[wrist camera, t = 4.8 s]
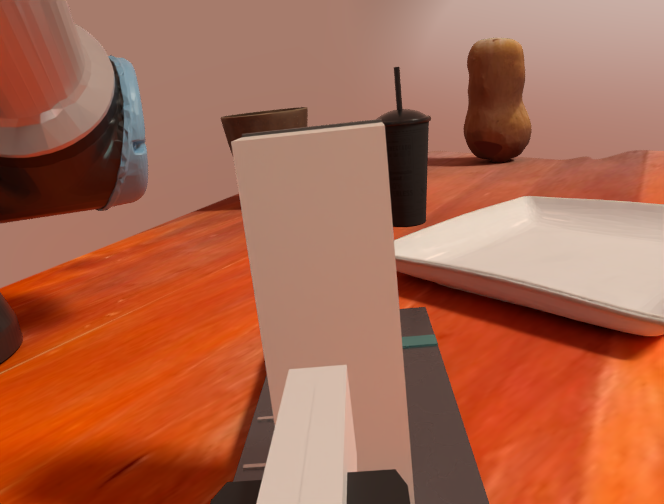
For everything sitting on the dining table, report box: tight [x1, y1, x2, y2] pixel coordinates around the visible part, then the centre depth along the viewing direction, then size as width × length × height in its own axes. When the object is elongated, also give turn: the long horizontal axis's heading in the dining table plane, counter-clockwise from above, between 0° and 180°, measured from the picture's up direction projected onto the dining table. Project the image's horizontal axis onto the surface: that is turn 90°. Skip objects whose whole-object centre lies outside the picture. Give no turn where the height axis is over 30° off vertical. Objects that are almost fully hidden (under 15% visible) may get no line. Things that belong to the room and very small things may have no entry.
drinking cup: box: [376, 67, 431, 227], centre depth 72 cm, size 8×8×20 cm
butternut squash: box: [464, 38, 531, 163], centre depth 117 cm, size 14×13×25 cm
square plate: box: [394, 196, 664, 336], centre depth 51 cm, size 27×27×4 cm
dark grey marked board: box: [233, 307, 489, 504], centre depth 31 cm, size 26×11×1 cm, turn 178°
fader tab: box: [231, 119, 415, 504], centre depth 22 cm, size 4×5×15 cm
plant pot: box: [221, 107, 307, 155], centre depth 98 cm, size 15×15×16 cm
